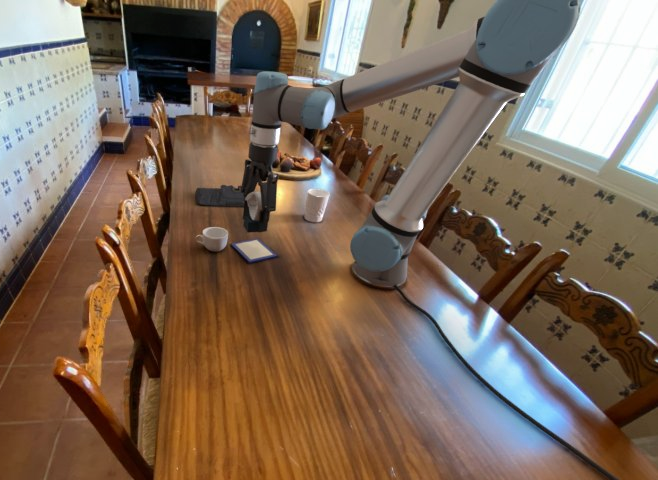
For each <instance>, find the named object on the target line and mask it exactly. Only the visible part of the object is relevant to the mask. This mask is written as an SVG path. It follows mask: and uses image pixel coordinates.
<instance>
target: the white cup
mask: <svg viewBox="0 0 658 480" xmlns="http://www.w3.org/2000/svg"><path fill="white" fill-rule="evenodd" d="M330 195H331V193H330V192H329V191H327V190H325V189H322V188H309V189H308V190H307V192H306V200H305V206H304V207H305V208H304V217H303V218H304V219H305V220H306V221H307V222H311V223H320V222H322V221H323V218H324V214H325V212H326V209H327V205H328V201H329V198H330Z"/></svg>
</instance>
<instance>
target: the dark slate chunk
mask: <svg viewBox="0 0 658 480" xmlns="http://www.w3.org/2000/svg"><path fill="white" fill-rule="evenodd" d="M241 186H242V185H237V187H235V186H233V185H231V184H229V185H227V184H221V185H220V188H218V187H197V188H196V190H195V193H194V194H195V200H196V202H197V204H198V205H199V206H207V207H226V208H227V207H229V208H231V207H237V208H241V207H242V208H244V199H245V197H244V194H243V193H241ZM245 188H246V187H245Z"/></svg>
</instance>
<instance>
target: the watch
mask: <svg viewBox="0 0 658 480" xmlns="http://www.w3.org/2000/svg"><path fill="white" fill-rule="evenodd" d="M245 200H247V203H248V207H249V208H250V209H249V212H250V216H244V219H243V228H244V229H245V231H246V233H259V232H258V224H259V216H260V210H262V202H261V192H260V190H255V191H254V192H251V193H249V194H248V195H247V197H246V198H245ZM251 209H252V210H251Z"/></svg>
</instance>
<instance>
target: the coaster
mask: <svg viewBox="0 0 658 480" xmlns="http://www.w3.org/2000/svg"><path fill="white" fill-rule="evenodd" d="M230 246H231V247H232V248H233V250H235V251H236V252H238V254H239V255H240V256H241V257H242V258H243V259H244V261H246V262H247V263H248V264H253V263H258V262H262V261H266V260H270V259H271V260H272V259H276V258H278V254H277V253H275V252H274V251H273V250H272V249H271V248H270V247H269V246H267V245H266V244H265V243H264V241H263V242H262V240H261V239H259V238H252V239H247V240H243V241H237V242H231V243H230Z"/></svg>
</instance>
